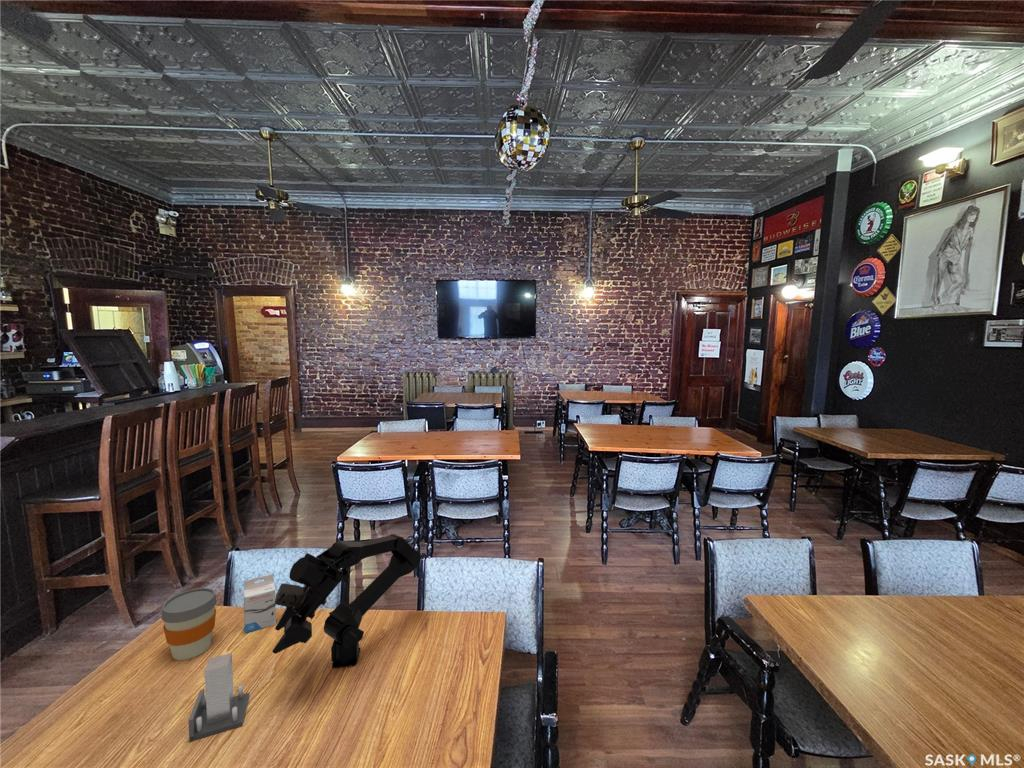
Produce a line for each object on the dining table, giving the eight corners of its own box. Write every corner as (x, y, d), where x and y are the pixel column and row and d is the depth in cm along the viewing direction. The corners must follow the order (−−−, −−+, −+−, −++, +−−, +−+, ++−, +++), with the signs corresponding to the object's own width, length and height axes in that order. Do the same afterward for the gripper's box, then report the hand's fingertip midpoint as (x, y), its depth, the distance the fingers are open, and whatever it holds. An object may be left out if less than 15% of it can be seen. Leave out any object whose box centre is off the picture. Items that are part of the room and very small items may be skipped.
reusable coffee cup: (224, 630, 128) (221, 584, 127) (210, 658, 116) (208, 607, 115) (174, 639, 124) (171, 591, 123) (155, 670, 112) (152, 617, 111)
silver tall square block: (234, 703, 101) (231, 652, 100) (230, 717, 97) (227, 665, 96) (212, 709, 99) (209, 658, 98) (207, 724, 95) (204, 671, 94)
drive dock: (249, 696, 104) (248, 677, 104) (242, 725, 96) (241, 705, 95) (201, 709, 100) (200, 690, 100) (189, 741, 92) (188, 720, 91)
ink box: (244, 634, 127) (242, 588, 125) (244, 625, 131) (242, 580, 130) (276, 624, 131) (275, 580, 130) (275, 615, 135) (274, 572, 134)
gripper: (295, 557, 115) (252, 605, 112) (293, 593, 99) (242, 651, 95) (328, 576, 120) (287, 624, 116) (331, 614, 103) (283, 671, 99)
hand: (275, 640), depth 106 cm, fingers open, 9 cm apart
